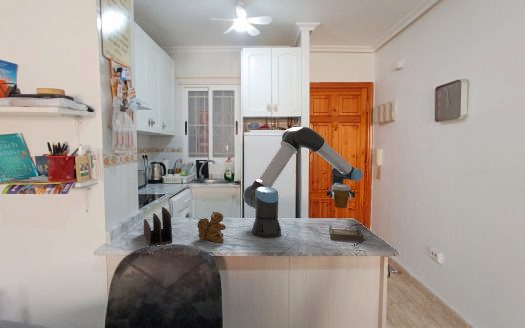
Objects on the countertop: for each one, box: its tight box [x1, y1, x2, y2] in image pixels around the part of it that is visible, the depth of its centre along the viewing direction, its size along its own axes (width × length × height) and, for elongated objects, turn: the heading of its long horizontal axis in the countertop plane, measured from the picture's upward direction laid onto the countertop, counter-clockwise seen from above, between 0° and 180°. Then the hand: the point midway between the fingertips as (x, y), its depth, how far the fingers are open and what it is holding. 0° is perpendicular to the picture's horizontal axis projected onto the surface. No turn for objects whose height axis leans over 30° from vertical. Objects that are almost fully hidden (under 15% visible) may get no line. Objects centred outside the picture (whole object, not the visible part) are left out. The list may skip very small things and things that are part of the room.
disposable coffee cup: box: [332, 184, 351, 209], centre depth 147 cm, size 10×10×12 cm
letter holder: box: [143, 206, 173, 247], centre depth 129 cm, size 10×20×14 cm, turn 31°
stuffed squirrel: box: [197, 211, 227, 243], centre depth 129 cm, size 10×14×13 cm
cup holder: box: [328, 225, 365, 242], centre depth 137 cm, size 15×15×3 cm
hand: (341, 196), depth 143 cm, fingers closed on disposable coffee cup, 8 cm apart
